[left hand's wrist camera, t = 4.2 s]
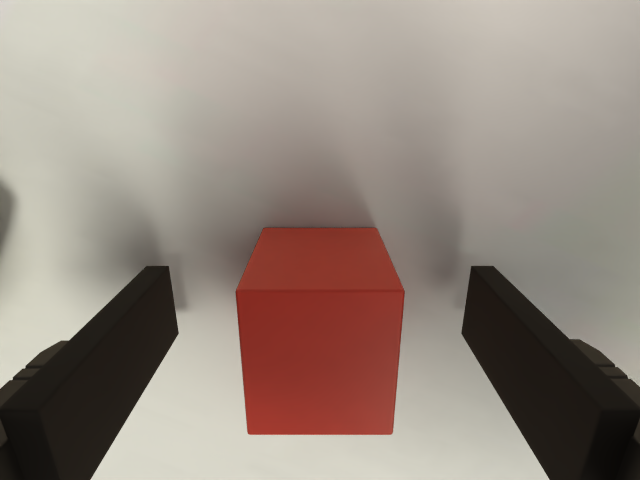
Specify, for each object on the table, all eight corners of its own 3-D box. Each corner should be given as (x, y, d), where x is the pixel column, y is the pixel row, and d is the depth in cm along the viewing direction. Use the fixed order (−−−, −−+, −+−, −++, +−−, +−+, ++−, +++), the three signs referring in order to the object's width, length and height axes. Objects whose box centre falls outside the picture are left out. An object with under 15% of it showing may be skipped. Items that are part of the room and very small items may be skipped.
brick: (268, 336, 16) (246, 436, 11) (263, 227, 14) (234, 290, 9) (371, 336, 16) (393, 436, 11) (377, 227, 14) (405, 290, 9)
